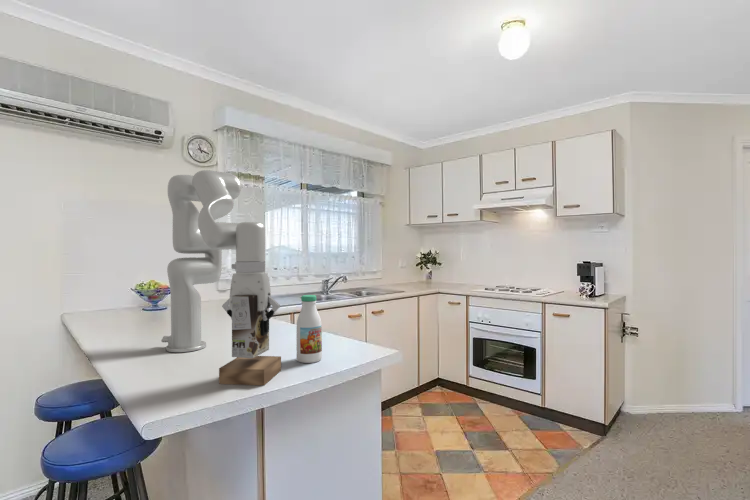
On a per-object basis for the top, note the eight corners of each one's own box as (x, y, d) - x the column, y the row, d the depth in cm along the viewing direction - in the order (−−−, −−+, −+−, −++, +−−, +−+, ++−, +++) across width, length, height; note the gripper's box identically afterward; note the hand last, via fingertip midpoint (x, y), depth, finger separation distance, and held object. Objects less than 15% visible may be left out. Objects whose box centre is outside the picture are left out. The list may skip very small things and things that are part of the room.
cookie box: (253, 358, 99) (253, 295, 99) (231, 357, 100) (230, 295, 100) (270, 349, 108) (269, 291, 108) (249, 348, 109) (248, 291, 109)
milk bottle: (291, 362, 118) (291, 296, 118) (304, 355, 125) (304, 293, 125) (314, 364, 115) (313, 297, 115) (326, 357, 122) (325, 294, 122)
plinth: (219, 383, 99) (219, 368, 99) (240, 369, 111) (240, 355, 111) (264, 385, 98) (264, 369, 98) (281, 370, 110) (281, 356, 110)
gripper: (213, 269, 102) (213, 337, 102) (276, 268, 100) (277, 338, 100) (227, 267, 109) (227, 331, 109) (286, 267, 107) (287, 332, 107)
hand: (251, 333), depth 104 cm, fingers closed on cookie box, 6 cm apart
